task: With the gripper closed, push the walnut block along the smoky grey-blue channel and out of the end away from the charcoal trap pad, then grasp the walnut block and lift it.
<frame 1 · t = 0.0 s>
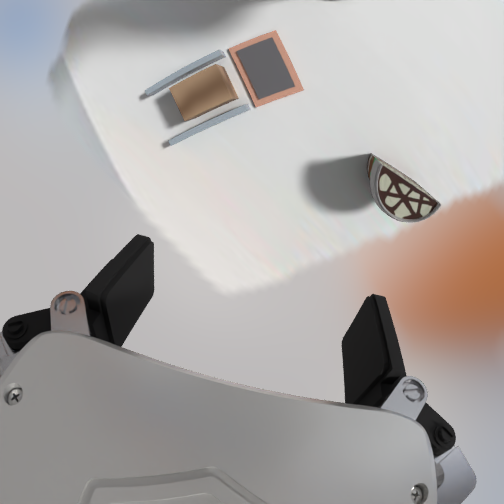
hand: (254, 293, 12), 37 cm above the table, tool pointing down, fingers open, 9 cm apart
trap pad: (266, 68, 37), on the table
channel: (198, 97, 41), on the table
food container: (384, 181, 44), on the table
walnut block: (209, 92, 41), on the table
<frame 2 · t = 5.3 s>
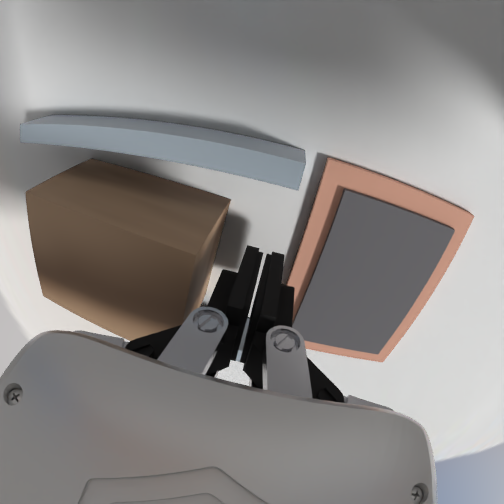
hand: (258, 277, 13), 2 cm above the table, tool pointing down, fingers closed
trap pad: (366, 282, 14), on the table
channel: (144, 224, 14), on the table
walnut block: (147, 226, 15), on the table
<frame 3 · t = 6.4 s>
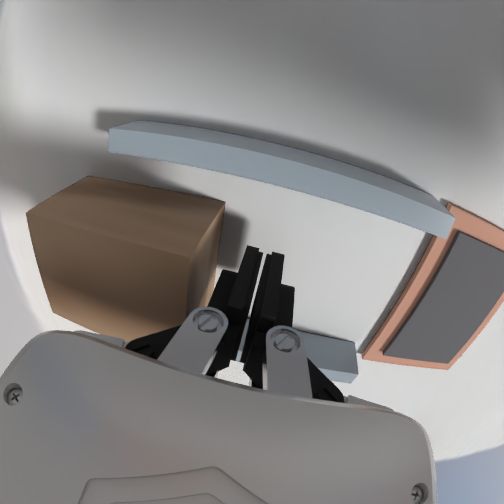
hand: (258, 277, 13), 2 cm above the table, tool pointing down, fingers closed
trap pad: (452, 304, 14), on the table
channel: (262, 255, 14), on the table
walnut block: (148, 237, 15), on the table, touching gripper
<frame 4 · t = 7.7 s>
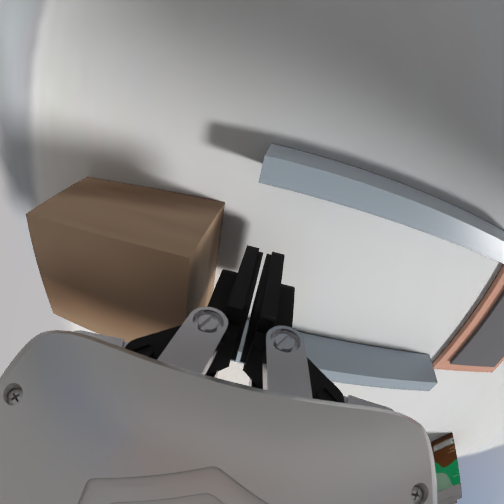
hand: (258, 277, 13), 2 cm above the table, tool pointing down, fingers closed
channel: (376, 285, 14), on the table
food container: (431, 447, 26), on the table
walnut block: (148, 237, 15), on the table, touching gripper
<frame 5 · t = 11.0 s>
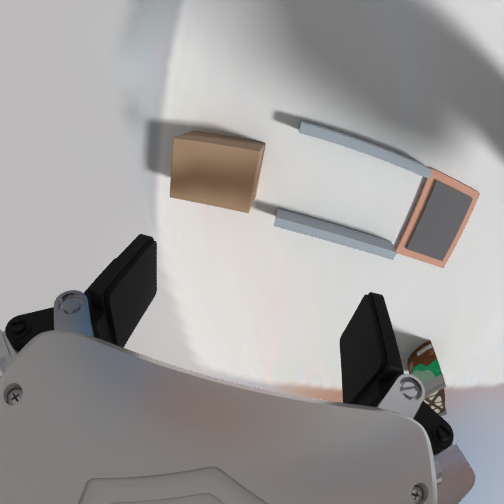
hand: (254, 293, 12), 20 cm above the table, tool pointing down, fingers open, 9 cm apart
trap pad: (438, 221, 29), on the table
channel: (351, 188, 29), on the table
food container: (417, 360, 41), on the table
walnut block: (224, 162, 30), on the table
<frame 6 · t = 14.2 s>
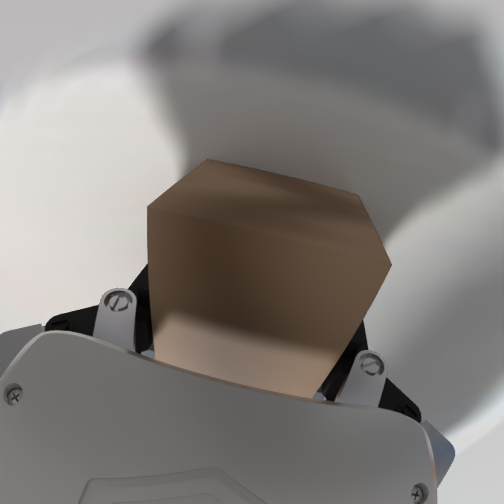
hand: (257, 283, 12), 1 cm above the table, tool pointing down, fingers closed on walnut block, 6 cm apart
walnut block: (262, 260, 13), on the table, touching gripper
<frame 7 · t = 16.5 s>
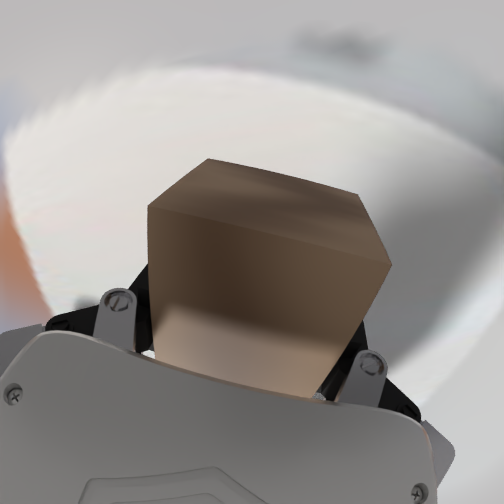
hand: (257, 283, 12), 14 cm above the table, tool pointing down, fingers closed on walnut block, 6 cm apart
walnut block: (262, 260, 13), point 13 cm above the table, touching gripper
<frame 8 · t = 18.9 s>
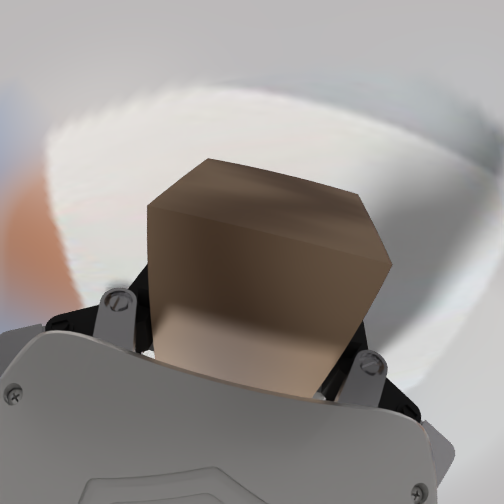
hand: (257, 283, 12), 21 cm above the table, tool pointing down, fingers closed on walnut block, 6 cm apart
walnut block: (262, 260, 13), point 21 cm above the table, touching gripper
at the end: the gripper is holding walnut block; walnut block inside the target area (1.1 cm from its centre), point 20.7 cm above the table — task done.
